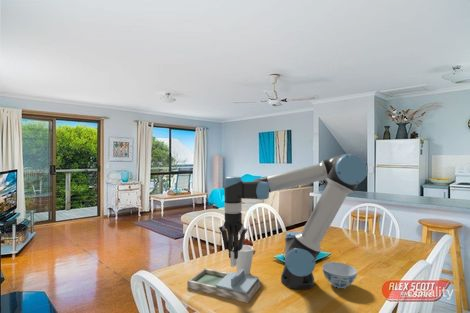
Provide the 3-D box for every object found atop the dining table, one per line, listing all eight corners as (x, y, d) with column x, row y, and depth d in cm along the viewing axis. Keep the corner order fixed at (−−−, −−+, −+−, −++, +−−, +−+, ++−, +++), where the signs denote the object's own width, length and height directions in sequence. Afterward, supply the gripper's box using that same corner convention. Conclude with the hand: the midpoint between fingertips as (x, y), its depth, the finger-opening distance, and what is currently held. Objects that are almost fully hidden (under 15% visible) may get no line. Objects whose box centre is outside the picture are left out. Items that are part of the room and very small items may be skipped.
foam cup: (231, 271, 138) (231, 245, 138) (248, 268, 141) (248, 244, 141) (238, 279, 129) (238, 252, 129) (256, 276, 133) (256, 250, 132)
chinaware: (328, 275, 136) (329, 259, 135) (361, 284, 126) (361, 267, 126) (316, 286, 124) (317, 269, 124) (351, 297, 114) (351, 279, 114)
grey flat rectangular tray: (260, 286, 123) (260, 279, 123) (248, 302, 109) (248, 295, 109) (204, 274, 135) (204, 268, 135) (187, 287, 121) (187, 280, 121)
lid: (258, 278, 123) (258, 270, 123) (246, 294, 110) (246, 284, 110) (230, 273, 129) (230, 265, 129) (215, 286, 115) (215, 277, 115)
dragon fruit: (233, 253, 167) (251, 254, 171) (238, 249, 161) (257, 250, 165) (232, 240, 172) (249, 241, 176) (237, 235, 166) (255, 236, 170)
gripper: (250, 211, 120) (250, 264, 120) (223, 209, 126) (223, 260, 126) (243, 214, 113) (244, 271, 114) (215, 212, 119) (216, 266, 119)
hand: (233, 265), depth 120 cm, fingers closed
